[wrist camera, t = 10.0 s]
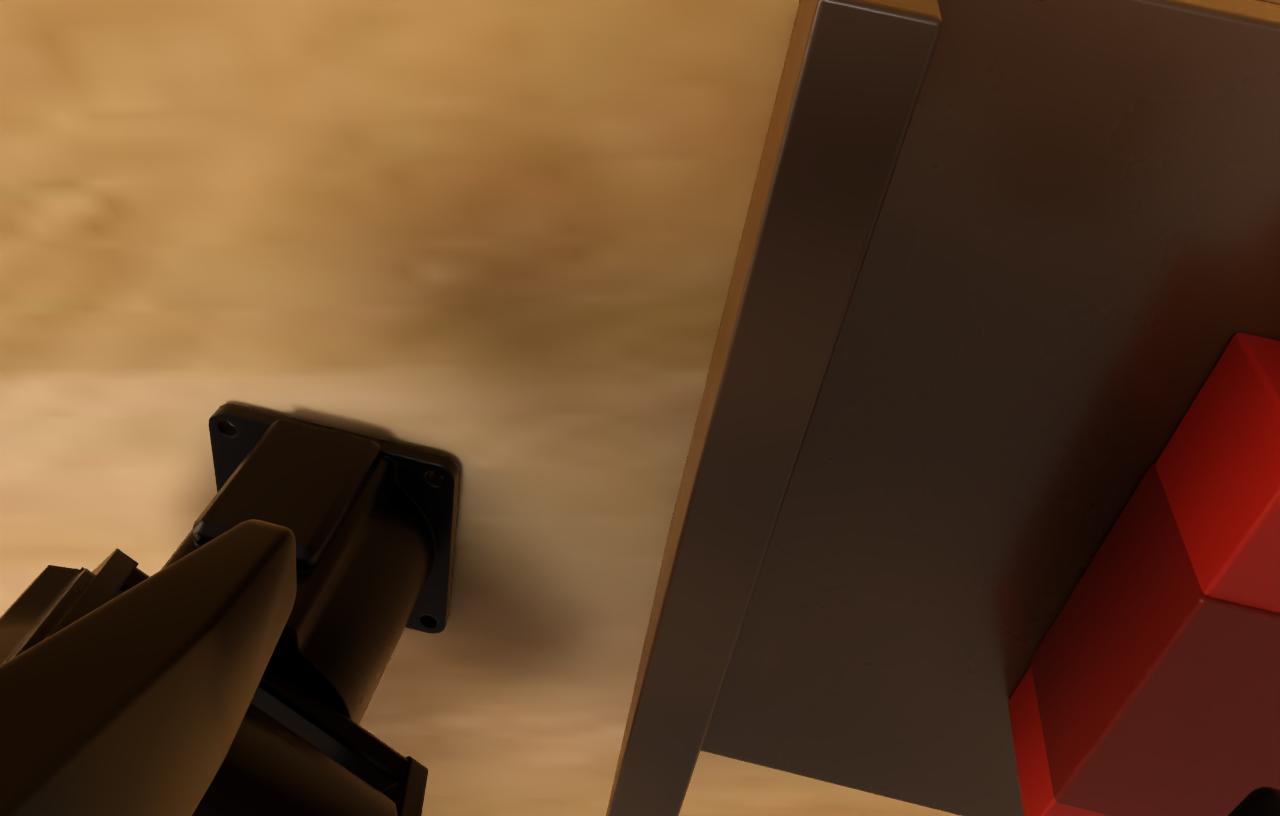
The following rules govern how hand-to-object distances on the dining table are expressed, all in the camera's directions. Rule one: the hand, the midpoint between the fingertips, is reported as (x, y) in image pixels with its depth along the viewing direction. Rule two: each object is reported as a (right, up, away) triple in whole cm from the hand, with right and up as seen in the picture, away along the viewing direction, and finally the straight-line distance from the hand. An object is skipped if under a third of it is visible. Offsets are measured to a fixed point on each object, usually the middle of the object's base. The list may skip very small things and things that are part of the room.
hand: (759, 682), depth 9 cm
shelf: (+8, +4, +12) cm, 15 cm away
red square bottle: (+8, 0, +7) cm, 10 cm away
